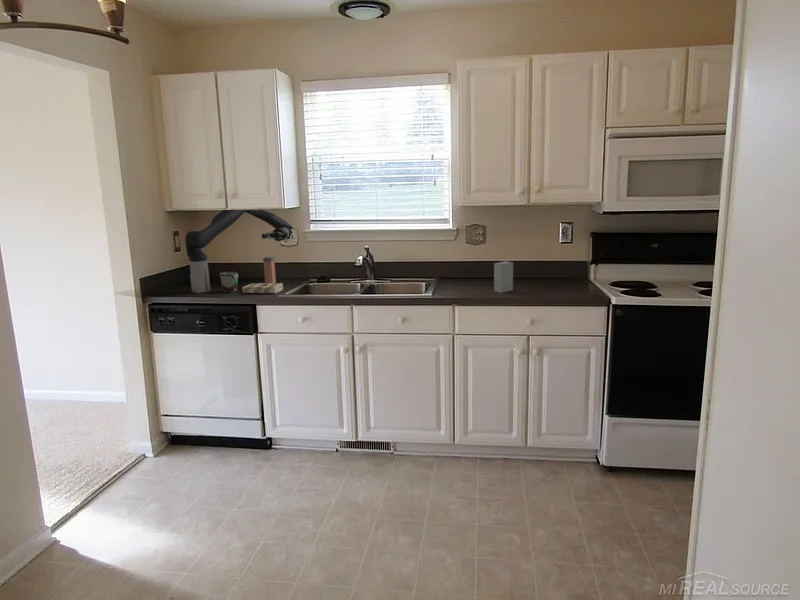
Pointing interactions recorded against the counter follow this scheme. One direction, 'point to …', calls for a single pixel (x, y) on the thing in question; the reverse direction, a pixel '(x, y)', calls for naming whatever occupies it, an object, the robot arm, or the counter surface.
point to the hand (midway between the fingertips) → (270, 236)
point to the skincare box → (503, 276)
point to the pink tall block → (269, 270)
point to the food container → (229, 281)
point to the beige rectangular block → (263, 288)
